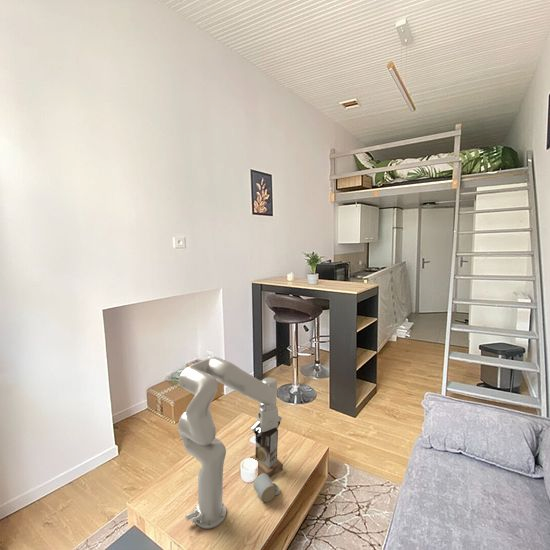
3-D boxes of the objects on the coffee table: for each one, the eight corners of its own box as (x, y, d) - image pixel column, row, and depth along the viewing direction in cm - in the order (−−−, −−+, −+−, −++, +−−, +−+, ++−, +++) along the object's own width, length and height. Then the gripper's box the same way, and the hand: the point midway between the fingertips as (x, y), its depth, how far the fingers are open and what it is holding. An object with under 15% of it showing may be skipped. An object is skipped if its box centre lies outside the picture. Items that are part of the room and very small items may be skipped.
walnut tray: (266, 479, 142) (266, 472, 141) (250, 462, 152) (250, 457, 151) (282, 469, 148) (282, 463, 148) (266, 454, 158) (266, 449, 158)
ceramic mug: (261, 506, 127) (262, 489, 126) (252, 492, 134) (253, 476, 133) (283, 497, 133) (284, 480, 132) (273, 483, 140) (274, 468, 139)
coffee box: (277, 460, 150) (278, 429, 148) (269, 468, 144) (270, 436, 143) (262, 452, 155) (263, 422, 153) (254, 460, 149) (255, 428, 148)
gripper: (257, 413, 138) (256, 449, 139) (287, 403, 149) (285, 436, 150) (248, 406, 144) (246, 441, 145) (277, 396, 155) (275, 429, 156)
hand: (266, 439), depth 148 cm, fingers open, 9 cm apart
